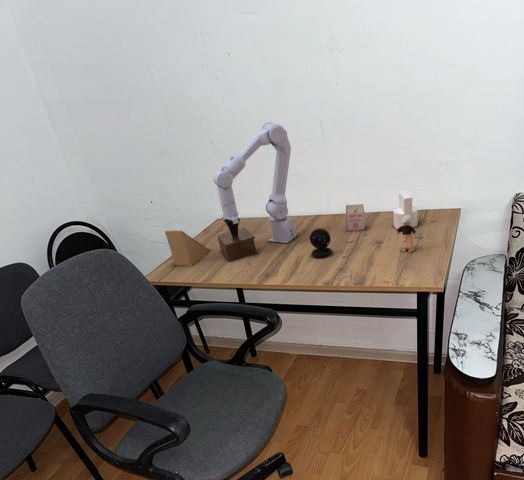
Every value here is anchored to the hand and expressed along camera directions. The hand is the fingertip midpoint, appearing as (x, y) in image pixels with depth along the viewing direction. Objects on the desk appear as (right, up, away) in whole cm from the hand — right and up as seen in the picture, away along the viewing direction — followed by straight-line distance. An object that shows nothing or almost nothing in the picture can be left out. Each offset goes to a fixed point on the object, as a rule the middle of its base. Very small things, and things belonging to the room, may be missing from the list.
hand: (235, 236), depth 190 cm
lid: (0, 0, 0) cm, 1 cm away
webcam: (+34, -10, -12) cm, 37 cm away
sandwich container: (-18, -7, +8) cm, 21 cm away
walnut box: (+1, -6, +4) cm, 7 cm away
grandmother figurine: (+63, -10, -22) cm, 67 cm away
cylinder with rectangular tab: (+68, +3, -4) cm, 68 cm away
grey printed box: (+49, +3, +2) cm, 49 cm away
